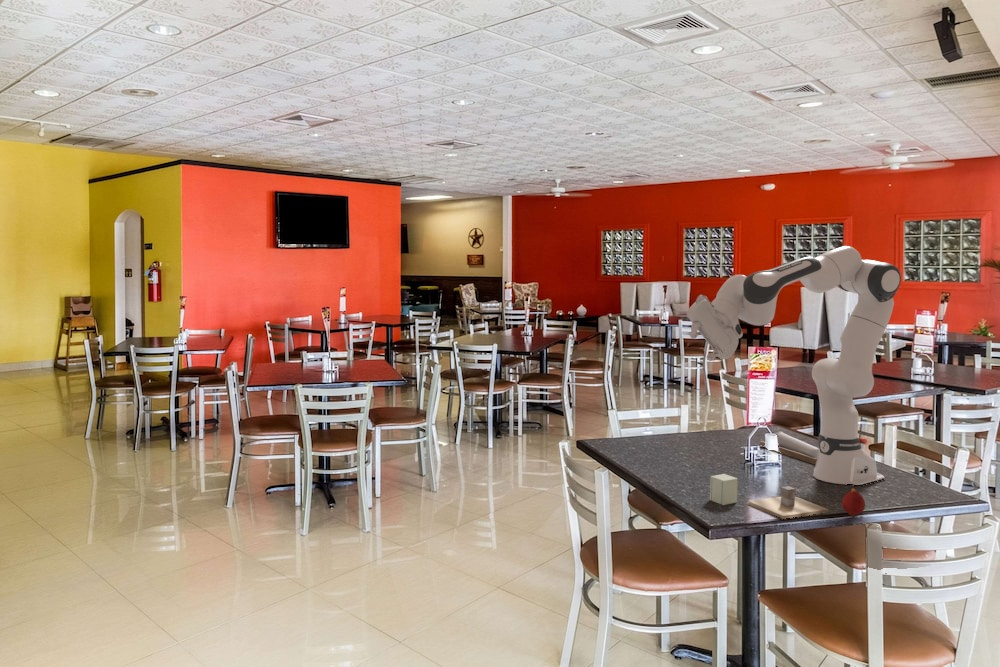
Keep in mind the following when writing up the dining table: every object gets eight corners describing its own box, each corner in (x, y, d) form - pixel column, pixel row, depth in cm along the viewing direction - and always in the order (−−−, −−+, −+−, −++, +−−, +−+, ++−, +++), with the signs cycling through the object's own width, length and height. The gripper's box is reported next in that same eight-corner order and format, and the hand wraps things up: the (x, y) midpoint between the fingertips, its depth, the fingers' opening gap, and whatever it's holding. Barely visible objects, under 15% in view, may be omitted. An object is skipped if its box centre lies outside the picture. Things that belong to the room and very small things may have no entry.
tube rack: (782, 443, 290) (782, 438, 290) (838, 461, 264) (839, 456, 264) (759, 446, 286) (760, 441, 286) (815, 464, 260) (815, 458, 260)
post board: (791, 498, 222) (792, 478, 222) (827, 512, 209) (828, 491, 209) (748, 504, 217) (749, 484, 216) (782, 519, 204) (783, 498, 203)
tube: (826, 449, 263) (787, 432, 288) (813, 446, 262) (775, 430, 287) (823, 464, 264) (783, 446, 288) (810, 461, 263) (771, 443, 287)
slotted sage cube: (723, 497, 223) (723, 473, 222) (736, 502, 218) (737, 478, 218) (709, 499, 220) (710, 476, 220) (723, 505, 216) (724, 480, 215)
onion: (857, 513, 209) (859, 485, 209) (868, 520, 204) (870, 491, 203) (837, 513, 209) (838, 485, 208) (847, 520, 203) (849, 491, 203)
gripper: (709, 289, 221) (689, 322, 215) (746, 338, 228) (727, 370, 221) (693, 293, 227) (673, 324, 220) (729, 340, 233) (711, 372, 227)
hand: (701, 348), depth 221 cm, fingers open, 8 cm apart
